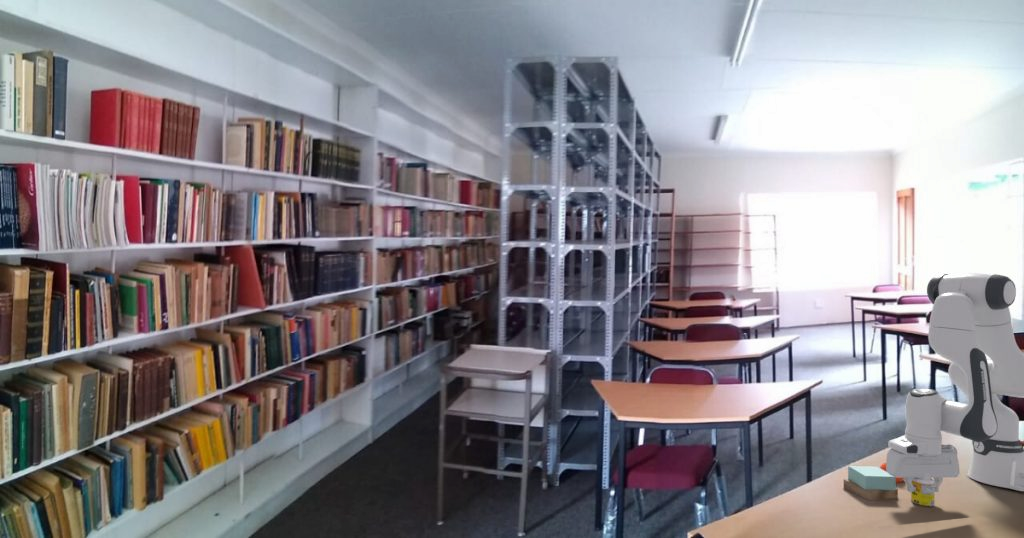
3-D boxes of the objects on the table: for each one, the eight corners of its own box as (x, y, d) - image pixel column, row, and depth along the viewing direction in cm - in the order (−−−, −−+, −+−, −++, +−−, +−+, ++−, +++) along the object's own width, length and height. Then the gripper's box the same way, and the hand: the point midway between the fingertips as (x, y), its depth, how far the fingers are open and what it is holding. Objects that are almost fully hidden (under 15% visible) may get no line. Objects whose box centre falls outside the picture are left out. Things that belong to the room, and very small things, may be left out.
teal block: (877, 479, 180) (877, 466, 180) (895, 490, 171) (895, 476, 171) (848, 478, 180) (848, 465, 180) (865, 489, 171) (865, 476, 171)
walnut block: (869, 489, 181) (869, 477, 181) (897, 502, 172) (897, 488, 172) (843, 492, 179) (843, 479, 179) (870, 504, 169) (870, 491, 169)
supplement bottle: (908, 501, 171) (909, 467, 171) (930, 504, 169) (931, 469, 169) (914, 508, 166) (914, 473, 166) (937, 511, 164) (937, 475, 164)
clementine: (912, 486, 183) (912, 464, 183) (899, 490, 180) (900, 467, 180) (887, 478, 191) (887, 457, 191) (874, 481, 188) (874, 459, 188)
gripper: (947, 441, 172) (947, 487, 171) (882, 441, 170) (882, 487, 170) (965, 447, 165) (965, 495, 165) (898, 447, 164) (897, 495, 164)
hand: (922, 491), depth 168 cm, fingers closed on supplement bottle, 5 cm apart
